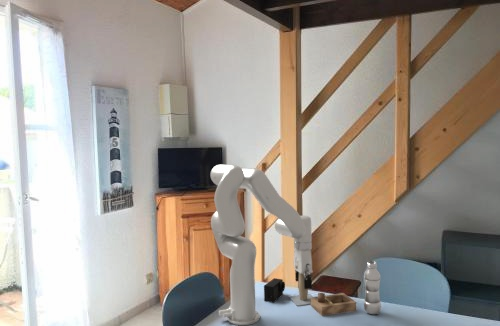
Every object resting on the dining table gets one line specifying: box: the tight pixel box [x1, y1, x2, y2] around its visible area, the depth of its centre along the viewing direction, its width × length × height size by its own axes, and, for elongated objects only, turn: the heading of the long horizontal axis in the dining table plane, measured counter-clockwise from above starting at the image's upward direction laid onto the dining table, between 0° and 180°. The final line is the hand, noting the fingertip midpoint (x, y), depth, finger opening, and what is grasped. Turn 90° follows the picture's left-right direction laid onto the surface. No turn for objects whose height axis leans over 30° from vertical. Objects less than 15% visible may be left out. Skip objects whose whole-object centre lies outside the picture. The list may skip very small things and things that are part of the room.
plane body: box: [310, 292, 357, 317], centre depth 163 cm, size 15×10×6 cm
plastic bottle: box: [363, 260, 382, 315], centre depth 157 cm, size 6×7×20 cm
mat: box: [288, 293, 314, 307], centre depth 172 cm, size 10×10×1 cm
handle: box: [295, 264, 309, 301], centre depth 172 cm, size 5×6×15 cm
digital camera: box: [263, 278, 286, 303], centre depth 175 cm, size 10×5×7 cm, turn 152°
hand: (303, 284), depth 172 cm, fingers open, 9 cm apart
